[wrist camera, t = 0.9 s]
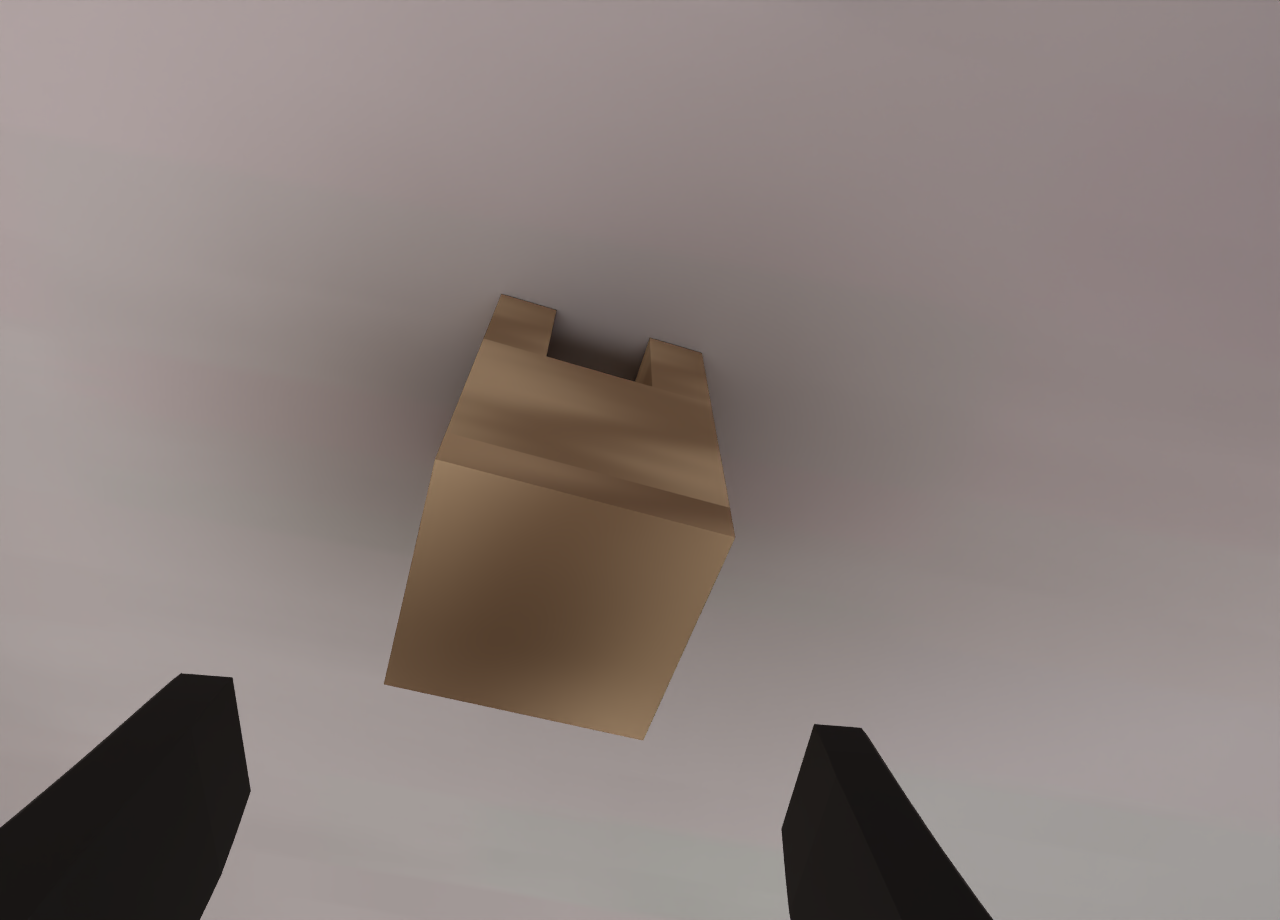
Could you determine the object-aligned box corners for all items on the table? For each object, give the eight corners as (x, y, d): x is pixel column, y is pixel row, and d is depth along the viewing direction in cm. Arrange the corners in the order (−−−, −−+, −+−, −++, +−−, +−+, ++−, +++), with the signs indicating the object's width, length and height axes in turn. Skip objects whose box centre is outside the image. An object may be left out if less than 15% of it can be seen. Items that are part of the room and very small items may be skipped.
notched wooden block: (701, 353, 19) (735, 537, 13) (640, 516, 21) (642, 740, 15) (501, 294, 18) (435, 458, 12) (458, 468, 20) (383, 684, 14)
